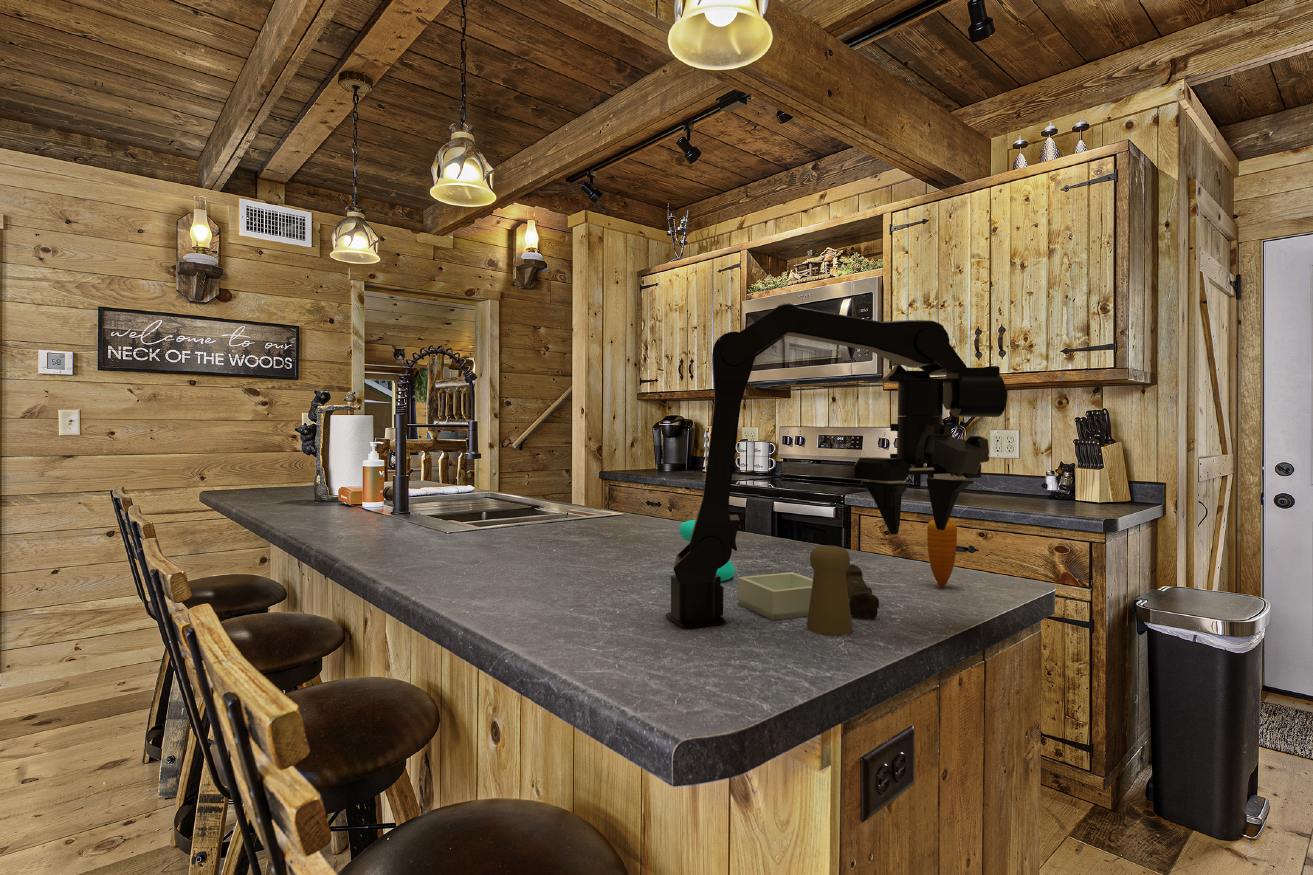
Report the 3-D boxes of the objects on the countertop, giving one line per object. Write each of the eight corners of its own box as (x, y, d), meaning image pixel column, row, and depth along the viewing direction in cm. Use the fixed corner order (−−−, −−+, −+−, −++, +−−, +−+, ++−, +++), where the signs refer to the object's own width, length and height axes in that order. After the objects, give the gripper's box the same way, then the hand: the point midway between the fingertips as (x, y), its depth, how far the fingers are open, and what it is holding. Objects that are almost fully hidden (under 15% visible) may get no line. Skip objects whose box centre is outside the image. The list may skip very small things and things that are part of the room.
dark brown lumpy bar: (879, 622, 95) (879, 589, 95) (849, 620, 96) (849, 587, 96) (868, 590, 113) (868, 563, 113) (843, 589, 114) (843, 561, 114)
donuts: (738, 519, 125) (731, 526, 116) (737, 573, 126) (731, 585, 116) (684, 517, 128) (674, 524, 118) (684, 570, 128) (673, 582, 118)
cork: (802, 632, 89) (803, 548, 89) (810, 620, 95) (810, 541, 95) (850, 637, 87) (850, 551, 87) (855, 624, 93) (855, 544, 92)
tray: (773, 620, 95) (773, 591, 95) (738, 603, 104) (738, 577, 104) (831, 612, 98) (831, 585, 98) (792, 597, 107) (792, 572, 107)
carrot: (962, 590, 112) (963, 500, 112) (932, 590, 112) (933, 499, 112) (950, 584, 117) (950, 496, 117) (921, 583, 117) (921, 496, 117)
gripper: (921, 414, 80) (919, 546, 80) (1019, 417, 89) (1016, 535, 90) (852, 415, 90) (850, 533, 90) (946, 417, 99) (944, 524, 99)
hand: (917, 531), depth 92 cm, fingers open, 9 cm apart
